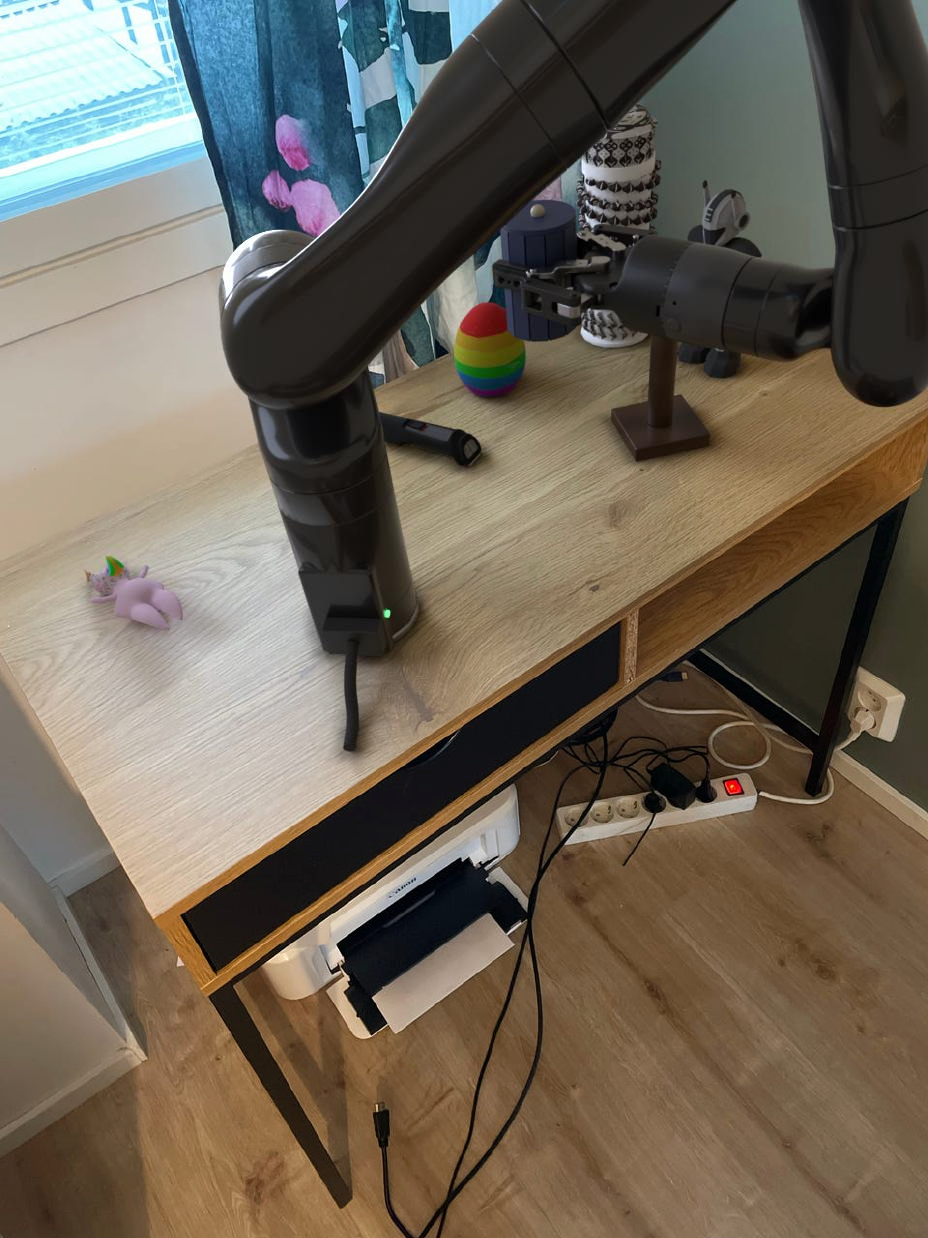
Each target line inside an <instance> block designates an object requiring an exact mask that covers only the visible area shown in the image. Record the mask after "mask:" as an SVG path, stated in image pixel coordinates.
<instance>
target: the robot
mask: <svg viewBox="0 0 928 1238" xmlns="http://www.w3.org/2000/svg"><path fill="white" fill-rule="evenodd" d="M702 194H703V205H704V206H703V209H702V215H703V216H702V221H701V224H698V225H695V226H693V227H692V228H691V229H690V230H689V231H688V235H687V238H686V240H688V241H693V242H699V243H703V244H709V245H714V246H720V247H725V248H729V249H733V250H736V251H739V252H742V253H744V254H747V255H750V256H755V257H760V258H762V256H763V254H762V252H761V251H760V249H759V247H758V246H757V245H756V244H755V243H754V242H753V241H752V240H751V239H748V238H747V237H741V236H738V235H739V234H740V233H741V232H742V231H744V230H746V229H747V228H748V226H749V224H750V221H751V214H750V213H749V212H748V211H747V206H746V205H747V204H746V201H745V199H744V196H743V195H742V193H741V192H739V191H737V190H736V189H732V188H729V189H728V188H727V189H724V190H723V191H719V192H717V193H716V194H715V195H714V196H713V197H712V198H711V196H710V189H709V185H708V181H707V180H706V179H704V180H703V182H702ZM741 357H742V353H738V352H734V351H730V350H724V349H717V348H706V347H699V346H694V345H690V344H686V343H682V342H680V345H679V348H678V349H677V359H678V361H680V362H683V363H687V364H690V365H691V364H702V363H704V365H703V366H704V367H703V372H704V373H705V374H706V375H707V376H708V377H709V378H718V379H724V378H729V377H733V376H734V375H736V374H737V372H738V370H739V369H740V367H741V359H742V358H741Z"/></svg>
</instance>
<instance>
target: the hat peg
mask: <svg viewBox="0 0 928 1238" xmlns="http://www.w3.org/2000/svg"><path fill="white" fill-rule="evenodd" d="M678 346H679V342H678V341H674V340H670V339H666V338H662V337H658V336H654V335H650V346H649V347H650V349H649V370H648V387H647V388H648V390H647V400H646V401H642V402H638V403H632V404H628V405H623V406H618V407H613V408H611V409H610V421H611V423H612V425H613V427H614V428H615V430H616V431H617V433H618V435H619V436H620V438H621V439H622V441H623V443H624V444H625V446H626V447H627V449H628V451H629V453H630V454H631V456H632V458H633V459H634V461H635V462H638V461H644V460H649V459H652V458H653V459H654V458H658V457H662V456H667V455H670V454H675V453H680V452H685V451H688V450H694V449H698V448H699V449H700V448H703V447H708V446H710V442H711V432H710V431H709V429H708V427H706V425H705V424H704V423H703V421H702V419H700V417H699V416H698V414H697V413H696V412H695V410H694V409H693V408H692V407H691V405H690V403H688V401H687V399H686V398H685V397H684V396H683V394H681V393H679V394H675V388H676V387H675V386H676V372H677V361H678V360H677V359H678V355H677V352H678Z"/></svg>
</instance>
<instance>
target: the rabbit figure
mask: <svg viewBox="0 0 928 1238" xmlns="http://www.w3.org/2000/svg"><path fill="white" fill-rule="evenodd" d="M105 561H106V564H107V565H106V567H105V569H104V570H101V571H99V572H97V573H92V572H90V571H88V570H86V569H85V568H83V571H84V572H85V576H86V581H87V584H89V582H90V583H91V586H92V588H93V589H94V591H95V592H97V593H99V594H101V595H103V596H101V597H92V598H91V599H90V603H91V604H101V603H106V602H107V603H108V602H111V601H115V603H114V608H113V614H114V616H115V617H116V618H119V619H125V620H126V619H127V620H132V621H137V622H139V623H143V624H145V625H148V626H151V627H153V628H156V629H160V630H163V631H168V630H170V626H169V625H168V623H167V621H166V619H165V617H163V615H162V614H161V613H160V611H161V612H163V613H164V614H167V615H168V616H170V617H172V618H174V619H175V620H178V621H179V622H182V621H183V619H184V611H183V607H182V604H181V603H182V602H181V600H180V599H179V597H178V595H176V593H175V592H173V590H172V591H171V590H169V589H165V586H164V583H162V582H161V581H158V580H153V579H150V578H147V577H146V575H147V573H148V571H149V569H150V568H149V565H147V564H144V565H143V566H142V568H141V572H140V574H139V575H138V576H137V577H136V578H132V579H131V578H130V576H131V574H130V570H129V568H128V567H127V566H126V565H125V564H123V563H122V562H121V561H120V560H118V559H117V558H115V557H114V556H111V555H105ZM106 595H107V596H106Z"/></svg>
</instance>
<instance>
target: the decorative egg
mask: <svg viewBox="0 0 928 1238" xmlns="http://www.w3.org/2000/svg"><path fill="white" fill-rule="evenodd" d="M453 356H454V357H453V359H454V364H455V369H456V372H457V374H458V377H459V379H460V380H461V382H462V383H463V385H464V386H465V387H466V389H468V390H469V391H470V392H471V393H473V394H474V395H476V396H479V397H485V398H495V397H499V396H503V395H505V394H508V393H510V392H511V391H513V389H515V388H516V386H517V385H518V383H519V382H520V380H521V379H522V376H523V373H524V371H525V368H526V357H527V353H526V345H525V340H522V339H518V338H516V337H514V336H513V335H512V334H511V333H510V332H509V331H508V329H507V318H506V308H504V307H502V306H500V305H499V304H497V303H494V302H490V301H489V302H488V301H487V302H485V301H484V302H481V303H478V304H476V305H475V306H473V307H472V308H471V309H470V310H469V311H468V312H467V313H466V315H465V316H464V317H463V319H462V320H461V322H460V324H459V326H458V329H457V332H456V335H455V339H454V348H453Z"/></svg>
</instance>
